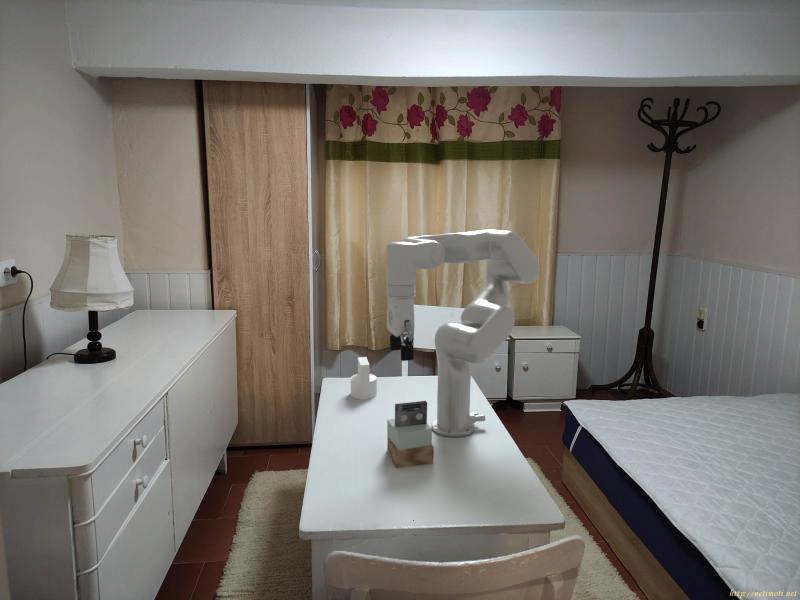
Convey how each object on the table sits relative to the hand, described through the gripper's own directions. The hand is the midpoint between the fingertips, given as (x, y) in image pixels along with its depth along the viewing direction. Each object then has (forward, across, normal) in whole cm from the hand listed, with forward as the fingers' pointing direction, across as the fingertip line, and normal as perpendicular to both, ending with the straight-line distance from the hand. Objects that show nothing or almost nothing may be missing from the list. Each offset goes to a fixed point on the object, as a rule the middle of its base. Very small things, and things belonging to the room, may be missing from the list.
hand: (401, 354), depth 141 cm
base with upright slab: (+27, -42, 0) cm, 50 cm away
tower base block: (+27, +5, +1) cm, 27 cm away
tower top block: (+22, +5, 0) cm, 22 cm away
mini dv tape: (+18, +5, +1) cm, 18 cm away
